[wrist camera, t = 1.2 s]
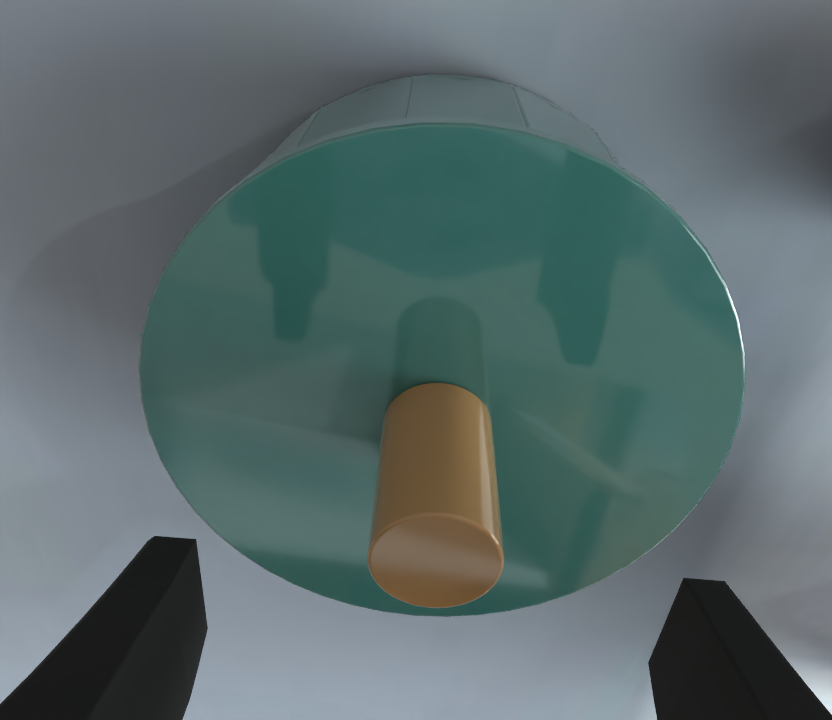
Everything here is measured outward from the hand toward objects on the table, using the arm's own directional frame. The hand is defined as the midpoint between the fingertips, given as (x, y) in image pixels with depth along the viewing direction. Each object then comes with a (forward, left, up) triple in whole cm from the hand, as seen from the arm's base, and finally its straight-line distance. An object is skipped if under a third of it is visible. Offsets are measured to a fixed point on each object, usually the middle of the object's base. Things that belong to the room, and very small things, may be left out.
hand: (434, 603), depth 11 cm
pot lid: (0, 0, -5) cm, 5 cm away
